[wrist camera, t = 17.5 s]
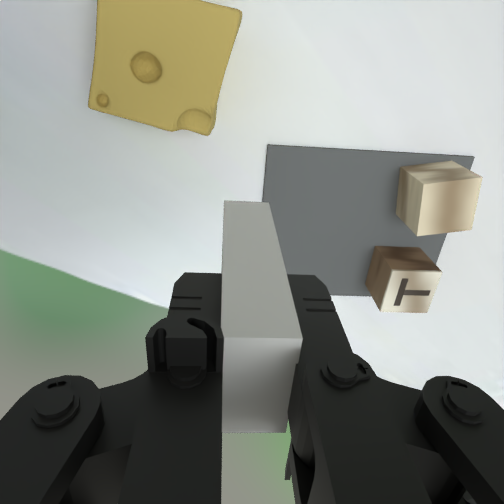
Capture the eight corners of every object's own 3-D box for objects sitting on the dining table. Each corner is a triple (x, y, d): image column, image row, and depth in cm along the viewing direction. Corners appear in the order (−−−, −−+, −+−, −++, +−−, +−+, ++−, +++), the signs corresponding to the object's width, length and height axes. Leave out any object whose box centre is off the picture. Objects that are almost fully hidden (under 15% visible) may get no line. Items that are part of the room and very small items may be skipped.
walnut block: (427, 312, 47) (407, 285, 52) (442, 272, 44) (419, 247, 49) (380, 311, 46) (364, 284, 51) (392, 270, 43) (375, 245, 48)
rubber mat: (254, 291, 51) (254, 293, 51) (267, 144, 42) (268, 145, 41) (422, 295, 53) (423, 297, 53) (472, 156, 44) (474, 157, 43)
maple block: (395, 214, 46) (416, 236, 41) (400, 166, 43) (423, 184, 38) (444, 208, 46) (471, 229, 41) (451, 160, 43) (482, 177, 38)
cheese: (214, 125, 40) (210, 149, 32) (111, 93, 38) (77, 110, 30) (241, 16, 36) (245, 9, 27) (126, -27, 34) (90, -49, 25)
